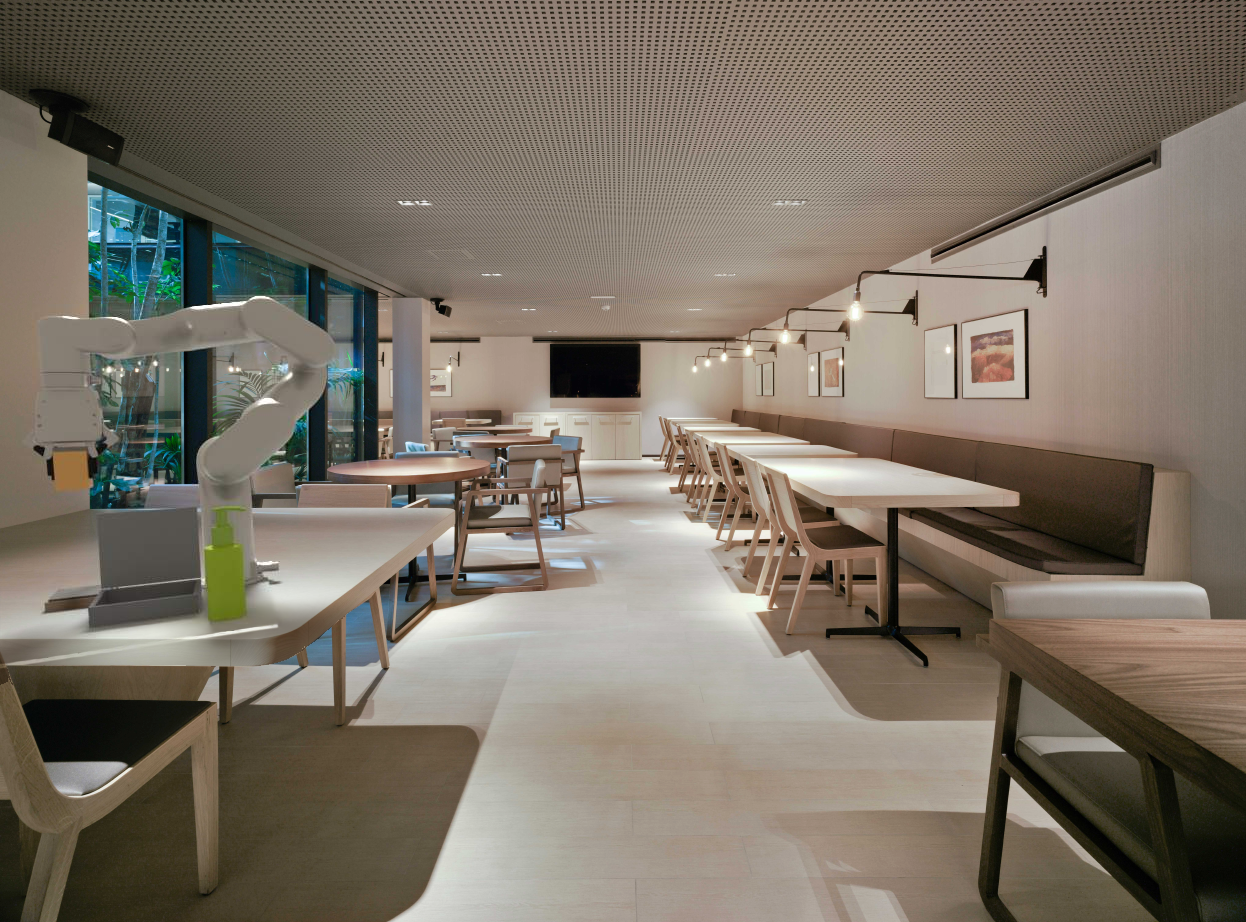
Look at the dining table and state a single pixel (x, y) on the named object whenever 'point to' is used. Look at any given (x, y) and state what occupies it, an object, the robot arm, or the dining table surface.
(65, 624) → the dining table surface
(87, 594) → the pad
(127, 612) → the case
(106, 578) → the lid
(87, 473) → the block
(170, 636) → the dining table surface
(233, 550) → the soap dispenser
